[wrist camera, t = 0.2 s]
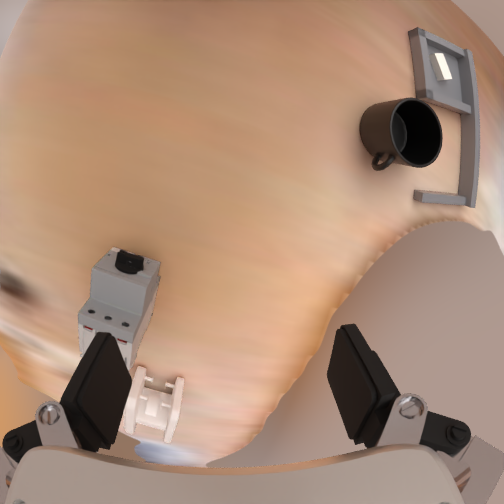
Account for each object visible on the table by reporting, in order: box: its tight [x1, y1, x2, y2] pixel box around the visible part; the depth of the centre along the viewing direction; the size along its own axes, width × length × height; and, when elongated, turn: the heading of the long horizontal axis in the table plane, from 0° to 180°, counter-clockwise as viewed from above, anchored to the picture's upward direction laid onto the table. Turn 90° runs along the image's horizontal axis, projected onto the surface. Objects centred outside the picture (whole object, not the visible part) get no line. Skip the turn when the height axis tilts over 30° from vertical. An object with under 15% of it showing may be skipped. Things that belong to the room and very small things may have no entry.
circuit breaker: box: [78, 247, 161, 374], centre depth 35 cm, size 8×14×15 cm, turn 160°
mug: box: [360, 98, 442, 171], centre depth 32 cm, size 9×12×9 cm
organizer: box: [408, 27, 480, 208], centre depth 33 cm, size 31×14×4 cm, turn 1°
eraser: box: [429, 53, 452, 81], centre depth 29 cm, size 5×2×2 cm, turn 21°
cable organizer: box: [123, 366, 184, 444], centre depth 47 cm, size 15×11×12 cm
